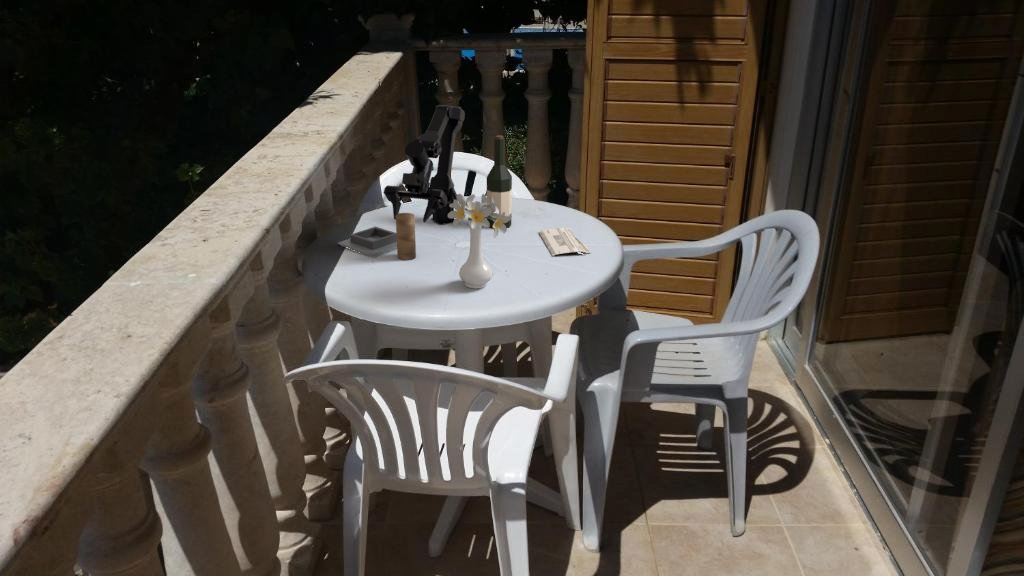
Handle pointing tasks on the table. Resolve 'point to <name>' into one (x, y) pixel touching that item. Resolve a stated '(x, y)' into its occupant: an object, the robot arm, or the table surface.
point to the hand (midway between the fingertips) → (409, 220)
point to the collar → (372, 241)
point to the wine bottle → (500, 182)
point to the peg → (405, 236)
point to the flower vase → (477, 236)
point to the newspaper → (562, 241)
